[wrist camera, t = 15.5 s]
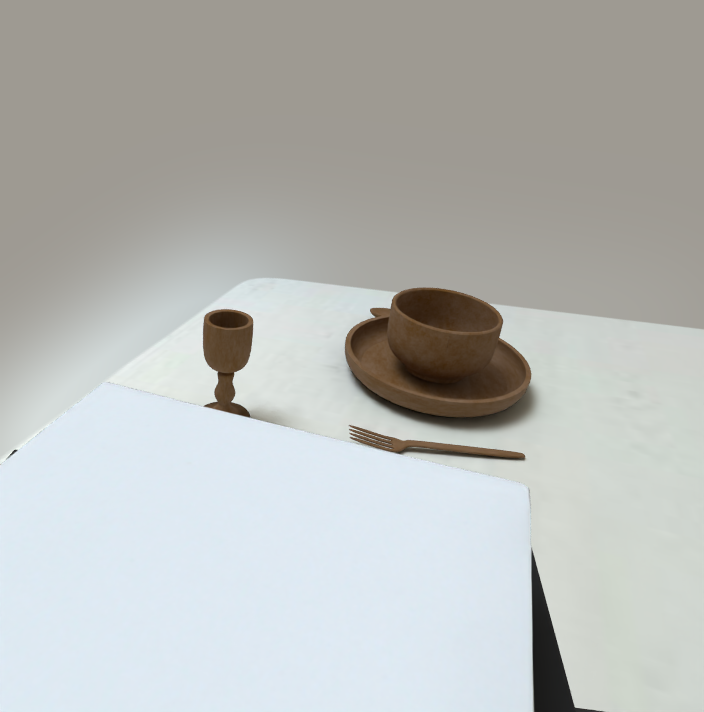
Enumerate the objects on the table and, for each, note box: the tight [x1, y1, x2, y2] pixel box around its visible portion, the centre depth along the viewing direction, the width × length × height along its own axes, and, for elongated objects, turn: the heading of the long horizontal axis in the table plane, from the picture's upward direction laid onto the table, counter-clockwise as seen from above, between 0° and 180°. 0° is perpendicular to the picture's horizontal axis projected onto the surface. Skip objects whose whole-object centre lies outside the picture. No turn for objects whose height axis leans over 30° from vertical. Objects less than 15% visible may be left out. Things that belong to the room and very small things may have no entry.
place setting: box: [203, 288, 531, 458], centre depth 41 cm, size 18×20×6 cm
